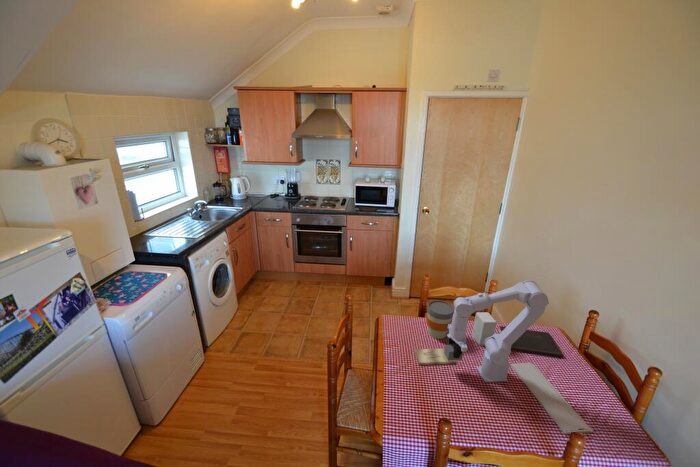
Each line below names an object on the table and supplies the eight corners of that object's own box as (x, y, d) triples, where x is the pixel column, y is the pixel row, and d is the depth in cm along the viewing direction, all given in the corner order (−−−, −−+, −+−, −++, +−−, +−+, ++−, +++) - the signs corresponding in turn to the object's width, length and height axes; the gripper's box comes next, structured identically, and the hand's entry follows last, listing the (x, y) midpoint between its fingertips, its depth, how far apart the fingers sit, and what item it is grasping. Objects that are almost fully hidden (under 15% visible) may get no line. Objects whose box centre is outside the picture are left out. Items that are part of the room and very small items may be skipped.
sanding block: (457, 353, 127) (459, 344, 125) (461, 360, 123) (463, 351, 122) (444, 354, 127) (445, 344, 125) (447, 361, 123) (449, 351, 121)
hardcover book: (498, 329, 154) (499, 325, 153) (547, 336, 150) (548, 332, 149) (507, 351, 139) (508, 347, 138) (562, 359, 135) (563, 355, 134)
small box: (492, 345, 142) (497, 322, 137) (479, 345, 141) (484, 322, 137) (483, 334, 149) (488, 311, 145) (471, 334, 149) (475, 312, 144)
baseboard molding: (535, 365, 131) (509, 366, 130) (536, 359, 130) (511, 361, 129) (596, 433, 102) (564, 436, 101) (599, 427, 101) (566, 429, 100)
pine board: (448, 350, 138) (448, 348, 137) (455, 363, 130) (455, 361, 130) (414, 351, 136) (414, 349, 136) (419, 364, 129) (419, 362, 129)
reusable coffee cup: (420, 325, 154) (423, 300, 149) (444, 324, 156) (447, 299, 151) (429, 342, 143) (433, 315, 138) (454, 340, 144) (459, 314, 139)
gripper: (442, 315, 126) (438, 341, 131) (456, 338, 112) (451, 367, 117) (458, 314, 127) (454, 341, 131) (474, 338, 113) (469, 366, 118)
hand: (454, 353), depth 124 cm, fingers closed on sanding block, 4 cm apart
